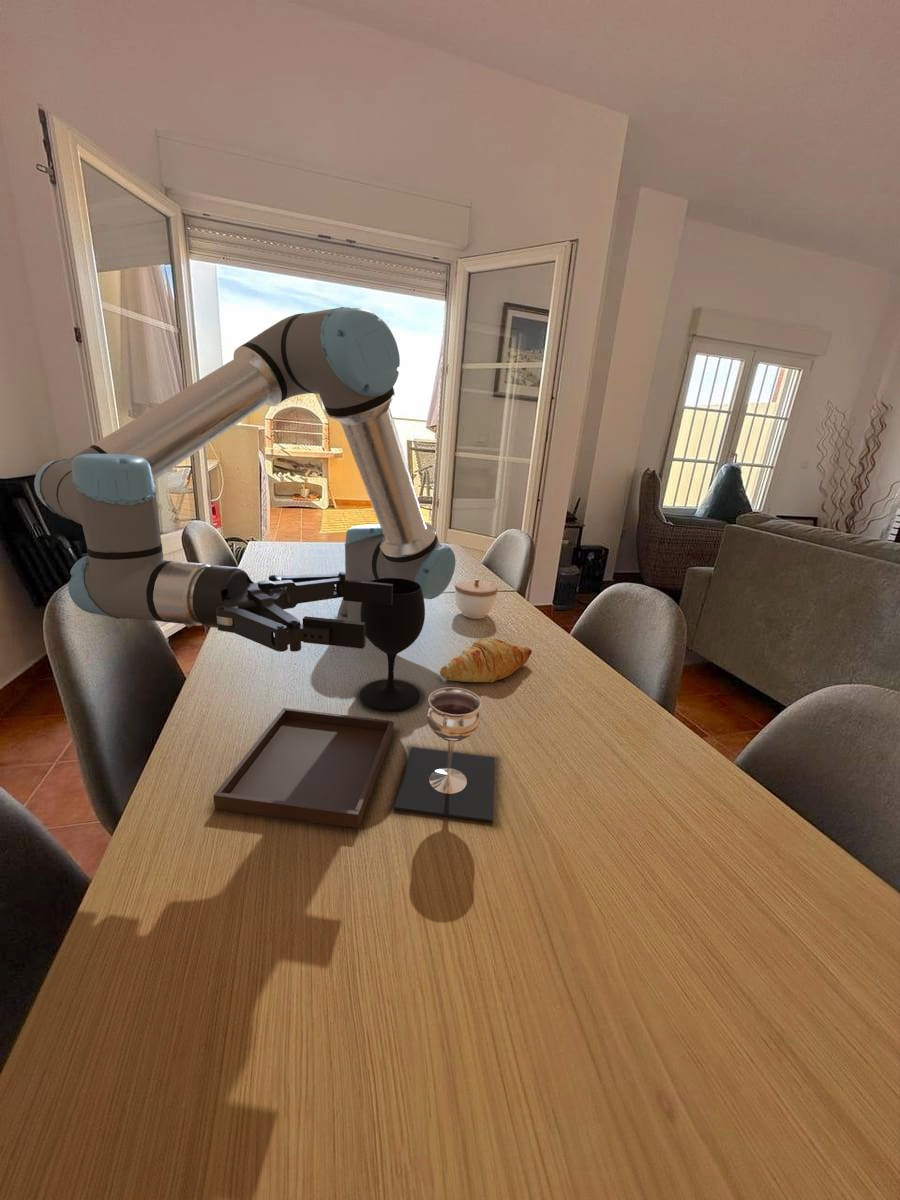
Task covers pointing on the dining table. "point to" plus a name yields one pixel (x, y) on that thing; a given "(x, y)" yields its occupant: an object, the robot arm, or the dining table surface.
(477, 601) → the trinket box
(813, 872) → the dining table surface
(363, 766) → the tray
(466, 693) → the wineglass
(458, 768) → the mat
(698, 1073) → the dining table surface
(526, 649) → the croissant
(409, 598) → the wine glass
